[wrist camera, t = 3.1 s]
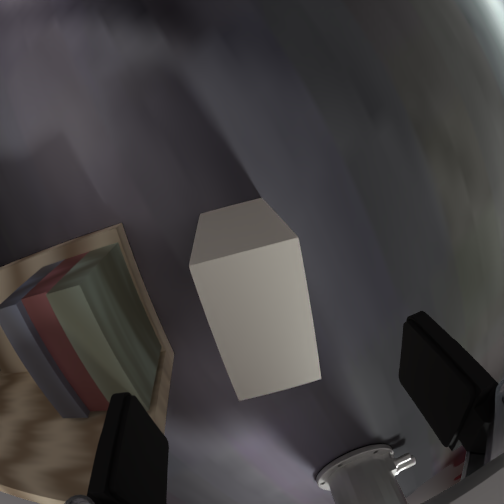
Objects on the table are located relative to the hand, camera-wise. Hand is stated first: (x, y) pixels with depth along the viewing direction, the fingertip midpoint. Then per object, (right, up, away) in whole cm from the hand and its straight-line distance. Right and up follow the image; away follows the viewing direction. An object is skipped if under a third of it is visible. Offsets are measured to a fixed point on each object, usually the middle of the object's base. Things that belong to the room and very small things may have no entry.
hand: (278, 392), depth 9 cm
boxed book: (-1, +4, +14) cm, 14 cm away
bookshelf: (-20, -2, +13) cm, 24 cm away
